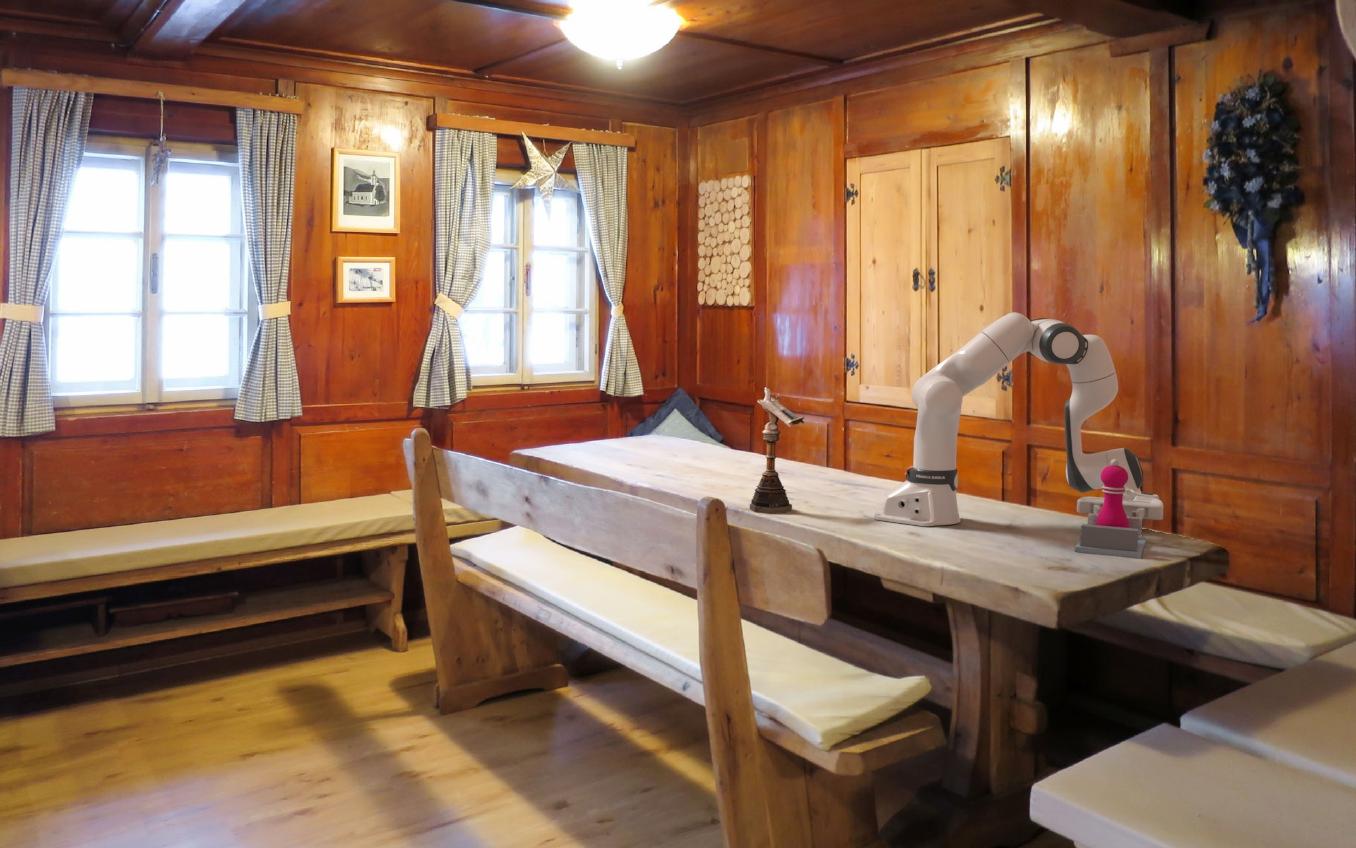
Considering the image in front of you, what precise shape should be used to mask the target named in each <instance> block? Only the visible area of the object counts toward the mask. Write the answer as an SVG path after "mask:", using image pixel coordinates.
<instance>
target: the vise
mask: <svg viewBox="0 0 1356 848" xmlns="http://www.w3.org/2000/svg"><path fill="white" fill-rule="evenodd" d="M1146 543H1147V536H1144V535H1141V539H1138V529H1133V528H1122V527H1110V526H1099V525H1088V523H1085V524H1084V523H1082V524H1081V526H1080V538H1079V539H1078V541H1077V543H1076V545H1075V546H1074V552H1075V553H1084V554H1093V555H1102V556H1103V555H1105V556H1115V557H1123V558H1124V557H1125V558H1134V559H1135V558H1136V559H1142V557H1143V553H1144V550H1145V546H1146Z"/></svg>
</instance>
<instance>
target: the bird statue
mask: <svg viewBox="0 0 1356 848" xmlns="http://www.w3.org/2000/svg"><path fill="white" fill-rule="evenodd" d="M763 391H764V394H765V395H764V398H763V399H758V400H757V403H758V404H759V405H760V406H761V407H762V409H763V410H764V411H765V412H766V413H767V414H768V418H769V422H767V423H766V424H765V425H764V430H762V432H761V433H762V434H763V438H762V439H763V441H765V442H766V443H765V444H766V455H765V458H766V469H765V471H763V472H762V476H761V479H760V480H759V483H758V485H756V488H755V489H754V493H753V496H752V498H751V503H749V510H750V511H752V512H754V513H759V514H767V515H768V514H769V515H770V514H786V513H789V512H791V511H793V504H791V503H790V500H789V499H788V495H787V492H786V491H787V490H786V489H785V486H784V485H783V484H782V482H781V479H780V477H779V476H780V475H779V472H778V471H776V469H775V468H776V463H775V462H776V459H777V455H776V445H777V443H776V442H778V441H779V440H780V434H781V430H779V425H778V422H779V420H780V421H781V422H783V423H784V424H785V426H787V428H789V429H790V428H791V427H792V426H795V425H799V424H800V423H801V424H804V423H805V422H804V419H805V416H803V415H802V416H800V417H799V416H797V415H796V414H795V413H794V412H793V411H790V410H789V408H787V407H786V406H784V405H783V404H782V403H781V402H780V399H781V398H782V397H781V396H780V393H779V392H778V393H777V395H776V396H775V398H776V399H775V398H774V397H772V391H771V389H770V388H768V387H764V389H763Z"/></svg>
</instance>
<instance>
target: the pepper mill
mask: <svg viewBox="0 0 1356 848" xmlns="http://www.w3.org/2000/svg"><path fill="white" fill-rule="evenodd" d="M1111 465H1112V466H1107V467H1105V468H1104V469H1103V470H1102V472H1101V481H1102V482H1103V483H1104V486H1102V487H1103V488H1102V490H1101V492H1102V493H1103V494H1104V495H1103V498H1104V504H1103V507H1102V509H1101V511H1100V513H1099V514H1098V516H1097V519H1096V525H1099V526H1110V527H1122V528H1129V522H1128V518H1127V516H1126V513H1125V511H1124V508H1123V501H1122V499H1123V493H1125V487H1124V485H1125V484H1126V483H1127V481H1128V473H1127V471H1126V470H1125V469H1124V468H1123V467H1120V466H1118V465H1119V461H1118V460H1117V459H1113V460H1112V461H1111Z"/></svg>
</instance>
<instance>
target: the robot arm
mask: <svg viewBox="0 0 1356 848" xmlns="http://www.w3.org/2000/svg"><path fill="white" fill-rule="evenodd" d="M1023 353H1027V354H1029V355H1031V356H1033V357H1036V358H1037V359H1038V360H1041V361H1042V362H1045V363H1050V364H1054V365H1059V366H1061V365H1066V367H1067V369H1068V372H1069V375H1070V380H1071V385H1072V391H1071V395H1070V398H1068V399H1067V400H1065V404H1064V413H1063V415H1064V417H1063V418H1064V437H1065V438H1064V439H1065V453H1066V463H1065V464H1066V465H1065V476H1066V477H1065V478H1066V480H1067V483H1068V485H1069V487H1070V488H1072V489H1073V490H1075V491H1077V492H1080V493H1082V494H1084V493H1087V492H1091V491H1095V490H1098V489H1099V490H1100V489H1103V487H1102V486H1104V483H1103V482H1102V481H1101V472H1102V470H1103V469H1104V468H1105V467H1107V466H1112V465H1111V461H1112V460H1113V459H1117V460H1118V461H1119V465H1118V466H1120V467H1123V468H1124V469H1125V470H1126V471H1127V473H1128V481H1127V483H1126V484H1125V485H1124V487H1125V493H1123V499H1122V501H1123V508H1124V511H1125V513H1126V516H1130V517H1142V521H1145V520H1146V521H1162V520H1163V519H1164V503H1163V501H1162V500H1161V499H1160V497H1159V495H1158V494H1156V493H1155V494H1154V493H1151V492H1150V493H1149V492H1144V491H1141V486H1142V484H1143V483H1144V475H1143V474H1144V473H1143V469H1142V465H1141V462H1140V460H1139V458H1138V456H1137V454H1135V452H1133V451H1132V450H1130V449H1129V448H1127V447H1121V448H1115V449H1109V450H1106V451H1100V452H1094V453H1087V454H1086V453H1084V452H1083V448H1082V447H1083V446H1082V430H1081V429H1082V425H1083V424H1084V422H1085V421H1086V420H1087V419H1089V418H1090V417H1092V416H1093V415H1095V414H1097V413H1098V412H1100V411H1101V410H1103V409H1105V408H1107V406H1109V405H1110V404H1111V403H1112V402H1113V401H1114V400H1115V398H1116V396H1117V394H1118V392H1119V381H1118V376H1117V372H1116V368H1115V364H1114V362H1113V358H1112V355H1111V353H1110V350H1109V349H1108V347H1107V344H1106V342H1105V341H1104V339H1103V338H1102V337H1101V336H1099V335H1096V334H1082V333H1081V332H1080V331H1079V330H1078V329H1077V328H1076V327H1074V326H1073V325H1071V324H1069V323H1066V322H1063V321H1062V320H1059V319H1055V318H1046V317H1041V318H1035V319H1029V318H1028V317H1027V316H1025V315H1023V314H1022V313H1019V312H1016V311H1015V312H1014V311H1012V312H1009V313H1006V314H1005V315H1003V316H1001V317H1000V318H998V319H996V320H995V321H993V322H992V323H990V324H989V325H988V326H986V327H985V328H983V330H981V331H980V332H979V333H977V334H976V335H975V336H974V337H973V338H971V339H970V340H969V341H968V342H967V343H966V344H964V345H963V346H962V347H961V348H959V349H958V350H957V351H955V352H954V353H953V354H951V355H950V356H948V357H947V358H946V359H944V360H942V361H941V362H940V363H938V364H937V365H935V366H934V367H933V368H931V369H930V370H928V372H926V373H925V374H924V375H922V376H921V377H920V378H919V379H917V380H916V382H915V383H914V385H913V387H912V389H911V390H912V392H911V397H912V402H913V404H914V405H915V406H916V408H917V418H916V425H915V431H914V432H915V433H914V437H913V463H912V464H913V465H910V466H909V467H907V469H906V470H905V471H904V476H905V481H903V482H902V483H900V484H899V485H898V486H896V487H895V488H893V489H892V490H891V491H889V492H888V493H887V494H886V496H885V498H884V501H883V504H882V505H883V507H882V509H880V510H877V511H876V512H875V513H874V515H873V517H874V519H875V520H876V521H877V520H878V521H882V522H883V521H884V522H892V523H898V524H906V525H912V526H920V527H933V526H947V525H955V524H959V523H961V517H960V512H959V508H958V506H959V505H958V500H957V489H958V486H959V485H958V483H959V482H958V481H959V480H958V479H959V478H958V477H959V475H958V469H957V445H958V444H957V442H958V435H959V434H958V433H959V428H960V421H961V414H962V404H963V399H964V397H965V396H967V395H968V394H970V393H971V392H973V391H975V390H976V389H977V388H979V387H981V386H983V385H984V384H986V383H988V381H989V380H991V379H992V378H993V377H995V376H996V375H998V374H999V372H1000V371H1002V370H1003V369H1004V368H1005V367H1007V366H1008V365H1009V364H1010V363H1011V362H1013V361H1014V359H1016V358H1017V357H1019V356H1020V355H1022V354H1023ZM1103 504H1104V497H1099V496H1098V497H1097V496H1082V497H1080V498H1078V499H1077V501H1076V512H1077V513H1078V514H1080V515H1088V514H1089V513H1094V514H1099V513H1100V511H1101V509H1102V507H1103Z"/></svg>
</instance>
